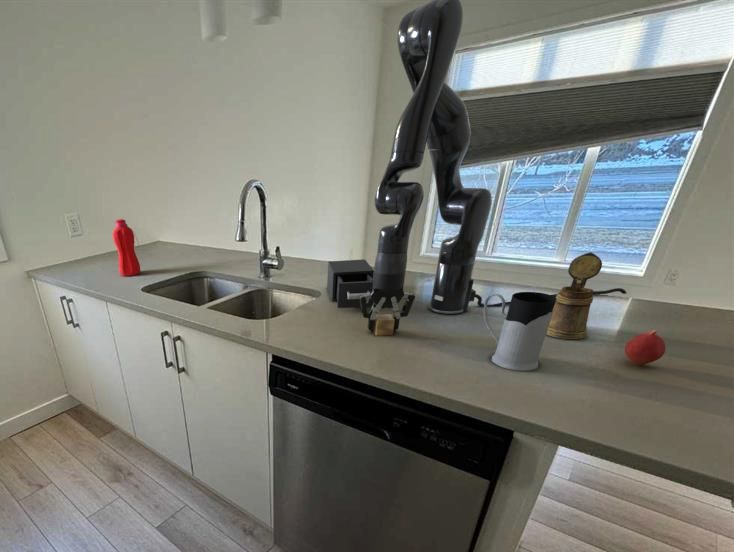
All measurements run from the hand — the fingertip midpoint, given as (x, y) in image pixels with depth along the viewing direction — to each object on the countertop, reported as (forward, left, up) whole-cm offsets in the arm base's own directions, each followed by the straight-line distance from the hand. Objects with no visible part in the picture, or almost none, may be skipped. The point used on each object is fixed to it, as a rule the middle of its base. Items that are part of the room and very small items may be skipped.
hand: (382, 330), depth 110 cm
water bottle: (+99, -82, -1) cm, 129 cm away
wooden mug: (-44, +2, -1) cm, 44 cm away
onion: (-47, +22, -1) cm, 52 cm away
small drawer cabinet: (+4, -36, 0) cm, 36 cm away
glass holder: (-23, +17, -1) cm, 29 cm away
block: (0, 0, 0) cm, 0 cm away
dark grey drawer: (+4, -23, +1) cm, 24 cm away
